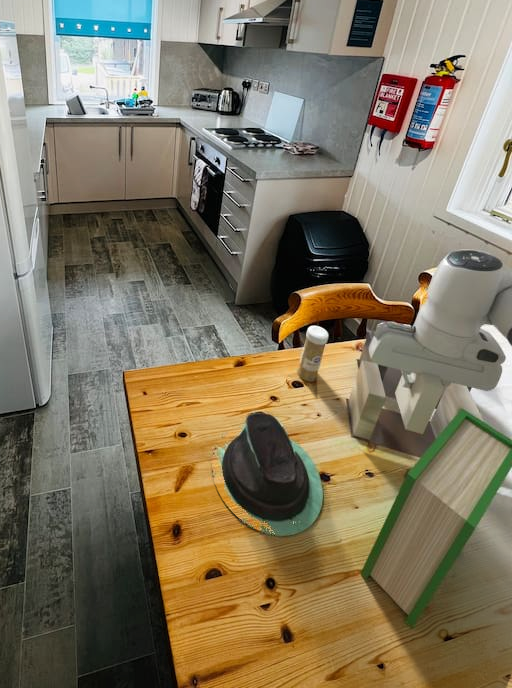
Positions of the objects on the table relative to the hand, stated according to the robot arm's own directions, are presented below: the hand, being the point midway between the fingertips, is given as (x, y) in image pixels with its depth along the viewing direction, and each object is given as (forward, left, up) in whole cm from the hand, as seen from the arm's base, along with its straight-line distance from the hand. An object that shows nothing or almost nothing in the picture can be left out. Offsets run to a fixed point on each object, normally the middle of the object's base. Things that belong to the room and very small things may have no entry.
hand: (418, 388), depth 77 cm
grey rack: (-4, -14, -13) cm, 20 cm away
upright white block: (0, 0, -7) cm, 7 cm away
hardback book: (+3, +24, -13) cm, 27 cm away
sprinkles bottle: (+18, -10, -13) cm, 24 cm away
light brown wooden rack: (0, 0, -13) cm, 13 cm away
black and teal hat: (+26, +18, -13) cm, 34 cm away
